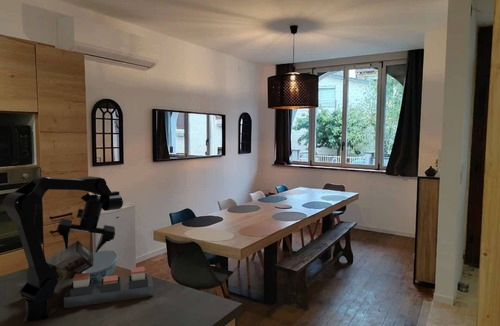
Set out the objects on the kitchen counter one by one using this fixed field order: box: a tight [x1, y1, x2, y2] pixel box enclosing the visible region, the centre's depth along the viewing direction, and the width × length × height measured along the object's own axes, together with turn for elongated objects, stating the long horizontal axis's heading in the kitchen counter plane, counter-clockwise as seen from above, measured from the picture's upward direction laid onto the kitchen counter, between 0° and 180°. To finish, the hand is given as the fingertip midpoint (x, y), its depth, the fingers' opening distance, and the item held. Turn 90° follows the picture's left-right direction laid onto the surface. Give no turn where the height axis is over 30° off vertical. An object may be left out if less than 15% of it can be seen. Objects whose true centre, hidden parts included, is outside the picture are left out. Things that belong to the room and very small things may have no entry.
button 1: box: [130, 266, 146, 281], centre depth 124 cm, size 4×4×3 cm
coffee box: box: [45, 240, 94, 289], centre depth 126 cm, size 9×6×16 cm
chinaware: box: [80, 249, 119, 283], centre depth 135 cm, size 15×15×8 cm
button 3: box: [72, 273, 90, 288], centre depth 118 cm, size 4×4×3 cm
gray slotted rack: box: [63, 272, 155, 309], centre depth 123 cm, size 10×28×6 cm, turn 110°
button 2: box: [103, 274, 119, 285], centre depth 121 cm, size 4×4×3 cm
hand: (81, 250), depth 128 cm, fingers open, 9 cm apart
